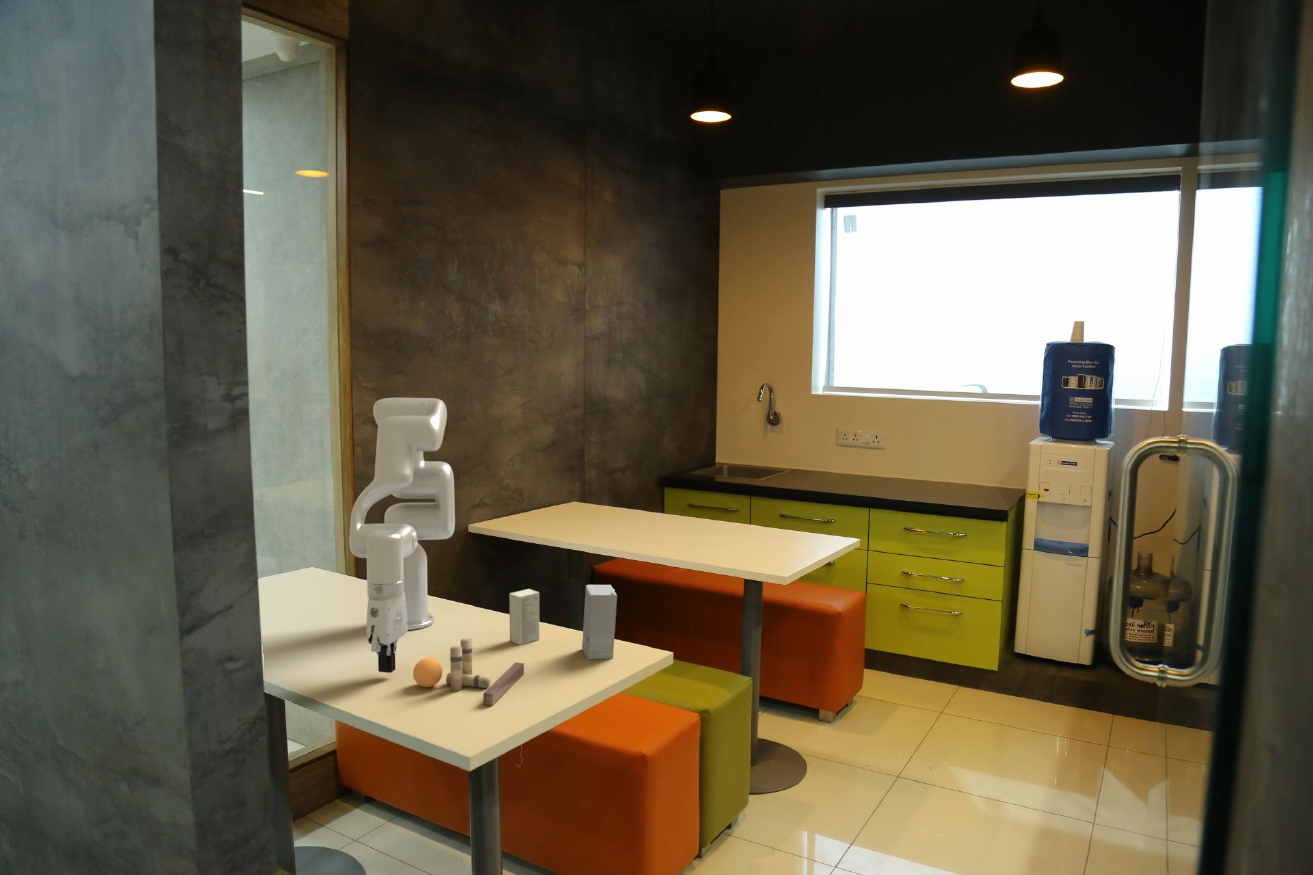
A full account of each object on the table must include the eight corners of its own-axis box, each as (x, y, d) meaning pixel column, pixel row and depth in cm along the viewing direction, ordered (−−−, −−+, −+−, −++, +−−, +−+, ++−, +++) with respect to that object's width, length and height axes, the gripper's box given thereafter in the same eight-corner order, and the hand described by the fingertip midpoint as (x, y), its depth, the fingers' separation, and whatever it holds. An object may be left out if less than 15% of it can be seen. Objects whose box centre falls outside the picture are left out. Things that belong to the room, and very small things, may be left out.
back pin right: (448, 689, 185) (447, 647, 184) (458, 685, 186) (457, 644, 185) (455, 692, 183) (454, 650, 182) (465, 688, 185) (464, 647, 184)
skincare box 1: (529, 635, 220) (529, 588, 219) (540, 639, 217) (540, 591, 216) (508, 641, 216) (508, 592, 214) (519, 645, 212) (519, 596, 211)
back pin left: (458, 680, 189) (458, 639, 189) (467, 677, 191) (467, 637, 190) (465, 683, 188) (464, 642, 187) (474, 680, 190) (474, 639, 189)
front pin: (446, 672, 187) (486, 676, 185) (451, 672, 189) (490, 675, 187) (445, 684, 186) (485, 688, 184) (450, 684, 188) (489, 687, 187)
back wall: (483, 704, 177) (483, 692, 176) (515, 673, 194) (515, 662, 194) (492, 705, 176) (492, 693, 176) (523, 673, 194) (523, 662, 194)
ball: (443, 689, 184) (423, 693, 187) (451, 663, 188) (431, 667, 191) (423, 677, 181) (403, 681, 184) (432, 650, 184) (412, 655, 187)
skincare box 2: (581, 648, 211) (581, 584, 209) (610, 646, 212) (611, 582, 211) (586, 660, 203) (587, 593, 201) (617, 658, 204) (617, 592, 203)
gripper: (384, 599, 181) (385, 685, 182) (417, 580, 195) (418, 660, 197) (350, 596, 182) (352, 682, 184) (386, 578, 197) (388, 657, 198)
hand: (386, 670), depth 190 cm, fingers closed
